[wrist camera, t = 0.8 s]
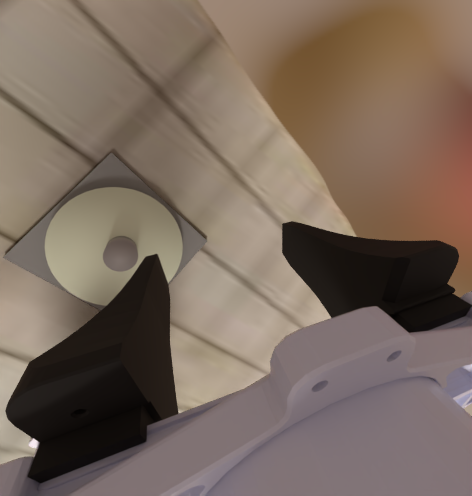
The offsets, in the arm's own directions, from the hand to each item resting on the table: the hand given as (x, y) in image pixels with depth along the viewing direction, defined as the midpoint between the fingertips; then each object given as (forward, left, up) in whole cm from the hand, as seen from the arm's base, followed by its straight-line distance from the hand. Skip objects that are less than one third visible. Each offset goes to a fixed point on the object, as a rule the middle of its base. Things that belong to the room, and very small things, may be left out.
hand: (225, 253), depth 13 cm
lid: (-6, +2, -16) cm, 17 cm away
